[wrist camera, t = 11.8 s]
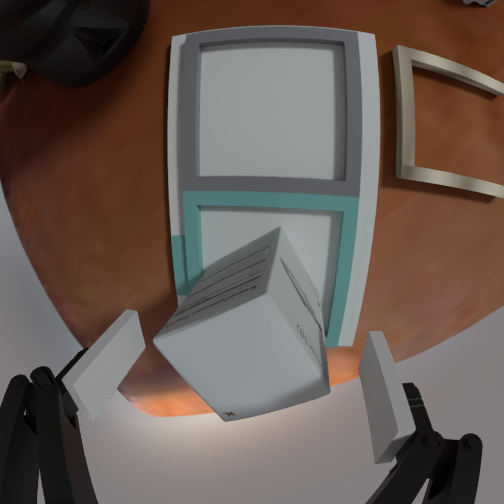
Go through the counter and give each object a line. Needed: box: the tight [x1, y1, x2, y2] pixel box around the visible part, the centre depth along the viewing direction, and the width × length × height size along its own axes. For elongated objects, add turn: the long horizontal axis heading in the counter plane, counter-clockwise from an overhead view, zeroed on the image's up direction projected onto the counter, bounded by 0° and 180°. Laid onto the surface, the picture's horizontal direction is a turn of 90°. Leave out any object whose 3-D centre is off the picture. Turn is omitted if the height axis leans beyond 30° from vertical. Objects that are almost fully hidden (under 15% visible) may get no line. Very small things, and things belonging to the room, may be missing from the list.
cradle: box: [392, 45, 504, 198], centre depth 18 cm, size 13×12×2 cm
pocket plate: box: [168, 26, 380, 347], centre depth 23 cm, size 18×30×2 cm, turn 179°
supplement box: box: [153, 226, 330, 422], centre depth 19 cm, size 7×7×13 cm
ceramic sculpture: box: [0, 61, 30, 92], centre depth 17 cm, size 11×9×15 cm
